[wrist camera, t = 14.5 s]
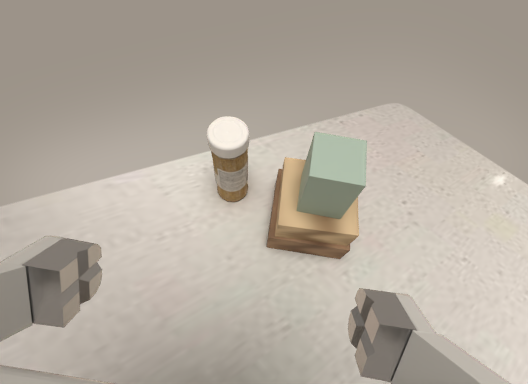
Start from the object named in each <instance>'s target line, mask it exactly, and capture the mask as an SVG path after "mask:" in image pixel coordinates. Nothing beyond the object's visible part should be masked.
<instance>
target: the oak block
mask: <svg viewBox="0 0 528 384" xmlns="http://www.w3.org/2000/svg"><path fill="white" fill-rule="evenodd" d="M305 162H306V160H301V159H293V158H286V157H285V159H284V164H283V169H282V173H281V182H280V191H279V200H278V210H277V219H276V229H275V236H276V237H284V238H291V239H299V240H306V241H314V242H321V243H329V244H336V245H344V246H348V245H349V244H350V243H351V242H352V241H354V240H355V239H356V238H357V237H358V236H359V224H358V197H357V198H356V199H355V201H354V202H353V203H352V205H351V206H350V207H349V209H348V210H347V211H346V212H345V214H344V215H343V216H342V218H341V219H336V218H331V217H325V216H320V215H315V214H309V213H304V212H298V211H297V204H298V197H299V190H300V183H301V176H302V172H303V168H304V165H305Z"/></svg>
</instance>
